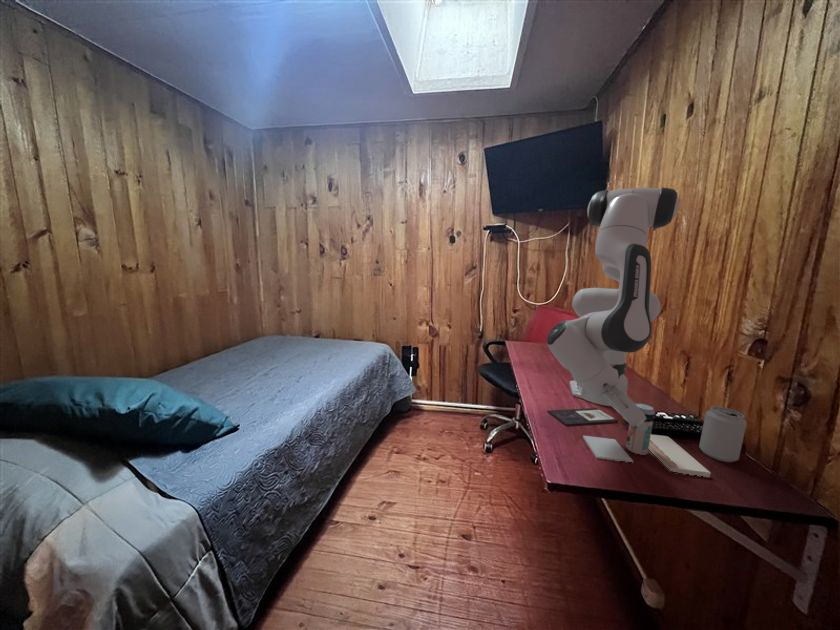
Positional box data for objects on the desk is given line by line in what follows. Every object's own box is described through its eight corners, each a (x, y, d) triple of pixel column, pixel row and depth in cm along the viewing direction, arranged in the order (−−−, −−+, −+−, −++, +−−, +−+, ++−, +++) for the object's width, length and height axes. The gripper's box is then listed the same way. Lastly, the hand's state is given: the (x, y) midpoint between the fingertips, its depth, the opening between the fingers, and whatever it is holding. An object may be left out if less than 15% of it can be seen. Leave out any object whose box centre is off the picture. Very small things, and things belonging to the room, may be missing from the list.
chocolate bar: (547, 410, 103) (596, 408, 107) (547, 413, 103) (595, 410, 107) (565, 424, 94) (618, 421, 98) (565, 427, 94) (617, 423, 98)
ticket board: (635, 436, 90) (636, 432, 90) (667, 440, 89) (668, 435, 89) (670, 472, 74) (671, 467, 74) (709, 477, 73) (710, 472, 73)
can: (732, 467, 78) (742, 420, 76) (693, 451, 84) (702, 407, 82) (742, 459, 82) (752, 413, 80) (704, 444, 88) (713, 402, 86)
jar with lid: (626, 443, 86) (633, 400, 84) (648, 451, 83) (656, 406, 81) (623, 451, 82) (631, 406, 80) (646, 459, 79) (654, 412, 77)
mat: (582, 437, 88) (583, 435, 88) (614, 441, 87) (614, 439, 87) (597, 458, 78) (597, 456, 78) (633, 463, 77) (633, 461, 77)
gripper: (628, 385, 71) (670, 433, 71) (593, 359, 91) (625, 396, 91) (603, 402, 72) (644, 449, 72) (574, 373, 92) (606, 409, 92)
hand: (633, 419), depth 81 cm, fingers open, 8 cm apart
